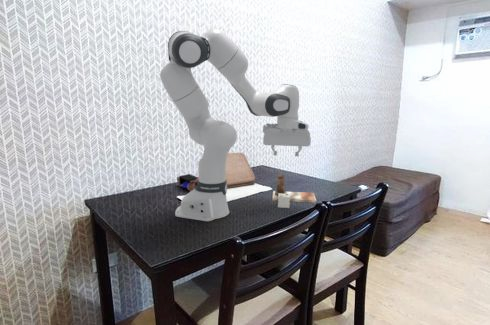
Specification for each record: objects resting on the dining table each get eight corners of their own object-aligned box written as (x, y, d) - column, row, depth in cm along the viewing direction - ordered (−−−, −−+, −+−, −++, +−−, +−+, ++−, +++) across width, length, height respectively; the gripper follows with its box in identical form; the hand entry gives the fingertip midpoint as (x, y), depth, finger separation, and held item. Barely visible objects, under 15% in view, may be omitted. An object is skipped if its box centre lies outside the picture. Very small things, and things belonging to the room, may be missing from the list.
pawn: (274, 195, 143) (275, 175, 141) (275, 192, 148) (275, 172, 146) (285, 196, 143) (286, 175, 141) (285, 192, 148) (286, 173, 146)
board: (272, 200, 141) (272, 197, 141) (273, 193, 152) (273, 190, 151) (316, 202, 139) (316, 199, 138) (313, 195, 149) (313, 192, 149)
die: (278, 207, 133) (278, 196, 131) (278, 203, 137) (278, 193, 136) (289, 208, 132) (289, 197, 131) (289, 204, 137) (289, 193, 136)
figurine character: (176, 189, 161) (189, 193, 148) (175, 175, 160) (187, 178, 147) (187, 186, 165) (201, 191, 152) (186, 173, 164) (199, 176, 151)
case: (223, 189, 156) (223, 160, 152) (208, 179, 174) (208, 153, 170) (256, 184, 166) (257, 156, 162) (239, 175, 184) (239, 150, 180)
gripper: (262, 124, 125) (261, 156, 128) (312, 125, 122) (310, 158, 125) (263, 122, 131) (262, 153, 134) (310, 123, 128) (308, 155, 131)
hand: (285, 155), depth 130 cm, fingers open, 8 cm apart
